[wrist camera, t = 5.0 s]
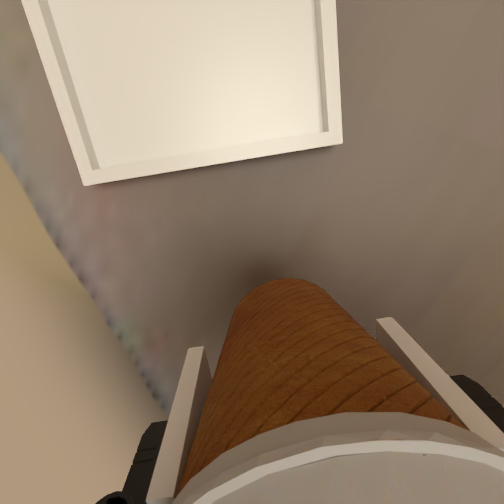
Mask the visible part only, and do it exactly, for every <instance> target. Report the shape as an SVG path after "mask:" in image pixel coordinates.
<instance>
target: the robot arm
mask: <svg viewBox="0 0 504 504" xmlns="http://www.w3.org/2000/svg"><path fill="white" fill-rule="evenodd" d="M376 341H377V342H378V343H379V344H380V345H381V346H382V347H383V348H384V349H385V350H386V351H387V352H388V353H389V354H391V355H392V358H395V359H396V360H397V361H398V362H399V364H400V365H401V366H402V367H403V368H404V369H405V370H406V371H407V372H409V373H410V374H411V375H412V376H413V377H414V378H415V379H416V383H420V384H421V385H422V386H423V387H424V388H425V389H426V390H428V391H429V392H430V394H431V398H435V399H436V400H437V401H438V402H439V403H441V404H442V405H443V406H444V407H445V408H446V409H447V410H448V412H449V413H450V415H452V416H453V417H454V418H456V419H457V420H458V421H459V422H460V423H461V424H462V425H464V426H465V427H466V428H467V429H468V430H469V431H471V432H473V433H476V434H477V435H478V436H480V437H481V438H483V439H484V440H486V441H487V442H489V443H490V444H492V445H493V446H495V447H496V448H499V449H501V450H502V451H504V408H503V407H502V405H501V404H500V403H499V402H498V401H496V400H495V399H494V398H492V397H491V395H490V394H489V393H488V392H487V391H486V390H485V389H484V388H483V387H482V386H481V385H479V384H478V383H476V382H475V381H473V380H471V379H469V378H468V377H466V376H464V375H457V376H450V377H449V376H448V375H447V374H446V373H445V372H444V371H443V370H442V369H441V368H440V367H439V366H438V364H437V363H436V362H435V361H434V360H433V359H432V358H431V357H430V356H429V355H428V354H427V353H426V352H425V351H424V350H423V349H422V348H421V347H420V346H419V345H418V344H417V343H416V342H415V341H414V340H413V338H412V337H411V336H410V335H409V334H408V333H407V332H406V331H405V330H404V329H403V328H402V327H401V326H400V325H399V324H398V323H397V322H396V321H395V320H394V319H393V318H392V317H387V318H380V319H376ZM211 383H212V377H211V373H210V369H209V365H208V361H207V357H206V353H205V349H204V346H201V347H194V348H188V352H187V355H186V359H185V363H184V366H183V370H182V373H181V377H180V380H179V384H178V387H177V391H176V394H175V398H174V402H173V405H172V409H171V412H170V416H169V419H168V420H167V421H161V422H154V423H151V425H150V426H149V427H148V429H147V430H146V431H145V433H144V434H143V435H142V438H141V441H140V443H139V446H138V449H137V453H136V454H135V458H134V460H133V465H131V468H130V471H129V474H128V476H127V479H126V482H125V485H124V488H123V490H122V492H120V491H116V492H113V493H111V494H108V495H106V496H105V497H104V498H102V499H101V500H99V501H98V502H97V503H96V504H171V503H172V502H173V501H174V499H175V498H176V496H177V493H178V490H179V487H180V484H181V480H182V477H183V474H184V471H185V467H186V464H187V461H188V457H189V454H190V451H191V448H192V445H193V441H194V438H195V435H196V432H197V429H198V426H199V422H200V419H201V416H202V413H203V409H204V406H205V403H206V399H207V396H208V393H209V390H210V387H211Z"/></svg>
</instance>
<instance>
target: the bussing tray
mask: <svg viewBox="0 0 504 504" xmlns="http://www.w3.org/2000/svg"><path fill="white" fill-rule="evenodd" d="M21 1H22V4H23V7H24V10H25V13H26V16H27V19H28V22H29V25H30V28H31V31H32V34H33V36H34V39H35V42H36V45H37V48H38V51H39V54H40V57H41V60H42V63H43V66H44V69H45V72H46V75H47V78H48V81H49V84H50V87H51V90H52V93H53V96H54V99H55V102H56V105H57V108H58V111H59V114H60V117H61V120H62V122H63V125H64V128H65V131H66V134H67V137H68V140H69V143H70V146H71V149H72V152H73V155H74V158H75V161H76V164H77V167H78V170H79V173H80V176H81V179H82V182H83V185H84V186H87V185H93V184H99V183H105V182H111V181H117V180H123V179H129V178H135V177H142V176H148V175H154V174H160V173H166V172H172V171H178V170H184V169H190V168H196V167H202V166H208V165H214V164H220V163H226V162H233V161H239V160H245V159H251V158H257V157H263V156H269V155H275V154H281V153H287V152H293V151H299V150H305V149H311V148H317V147H324V146H330V145H336V144H342V143H343V138H342V118H341V99H340V79H339V59H338V40H337V20H336V1H335V0H21Z"/></svg>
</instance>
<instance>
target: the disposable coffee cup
mask: <svg viewBox="0 0 504 504" xmlns="http://www.w3.org/2000/svg"><path fill="white" fill-rule="evenodd" d="M171 504H504V451H502V450H501V449H499V448H496V447H495V446H493V445H492V444H490V443H489V442H487V441H486V440H484V439H483V438H481V437H480V436H478V435H477V434H476V433H473V432H471V431H469V430H468V429H467V428H466V427H465V426H464V425H462V424H461V423H460V422H459V421H458V420H457V419H456V418H454V417H453V416H452V415H450V413H449V412H448V410H447V409H446V408H445V407H444V406H443V405H442V404H441V403H439V402H438V401H437V400H436V399H435V398H431V394H430V392H429V391H428V390H426V389H425V388H424V387H423V386H422V385H421V384H420V383H416V379H415V378H414V377H413V376H412V375H411V374H410V373H409V372H407V371H406V370H405V369H404V368H403V367H402V366H401V365H400V364H399V362H398V361H397V360H396V359H395V358H392V355H391V354H389V353H388V352H387V351H386V350H385V349H384V348H383V347H382V346H381V345H380V344H379V343H378V342H377V341H375V340H374V338H373V337H372V336H371V335H369V334H368V333H367V332H366V330H365V329H364V328H363V327H361V326H360V325H359V324H358V323H357V322H356V321H355V320H354V319H353V318H352V317H351V316H350V315H349V314H348V313H347V312H346V311H345V310H344V309H343V308H342V307H341V306H340V305H339V304H337V303H336V301H334V300H333V299H332V297H331V296H330V295H329V294H328V293H327V292H326V291H324V290H323V289H322V288H320V287H319V286H317V285H315V284H313V283H310V282H308V281H305V280H300V279H293V278H290V279H278V280H273V281H269V282H267V283H265V284H262V285H260V286H258V287H256V288H255V289H254V290H252V291H251V292H249V293H248V294H247V295H246V296H245V297H244V298H243V299H242V300H241V302H240V303H239V304H238V306H237V307H236V309H235V312H234V314H233V316H232V319H231V322H230V326H229V329H228V332H227V335H226V338H225V342H224V345H223V348H222V351H221V354H220V358H219V361H218V364H217V368H216V371H215V374H214V377H213V380H212V383H211V387H210V390H209V393H208V396H207V399H206V403H205V406H204V409H203V413H202V416H201V419H200V422H199V426H198V429H197V432H196V435H195V438H194V441H193V445H192V448H191V451H190V454H189V457H188V461H187V464H186V467H185V471H184V474H183V477H182V480H181V484H180V487H179V490H178V493H177V496H176V498H175V499H174V501H173V502H172V503H171Z"/></svg>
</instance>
